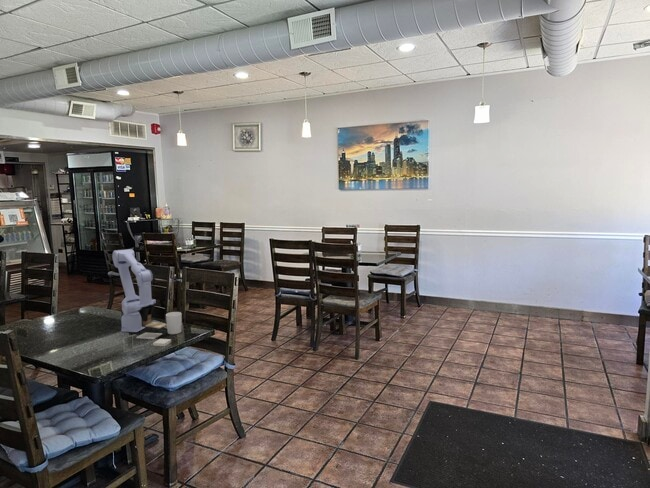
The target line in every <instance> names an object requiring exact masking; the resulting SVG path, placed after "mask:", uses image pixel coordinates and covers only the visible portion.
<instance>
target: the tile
mask: <svg viewBox="0 0 650 488" xmlns="http://www.w3.org/2000/svg"><path fill="white" fill-rule="evenodd" d="M171 343H172V339H171V338H169V339H168V338H159V339H157V340H156V341H154V342H153V343H152V345H153V346H155V347H166V346H167V345H169V344H171Z"/></svg>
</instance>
